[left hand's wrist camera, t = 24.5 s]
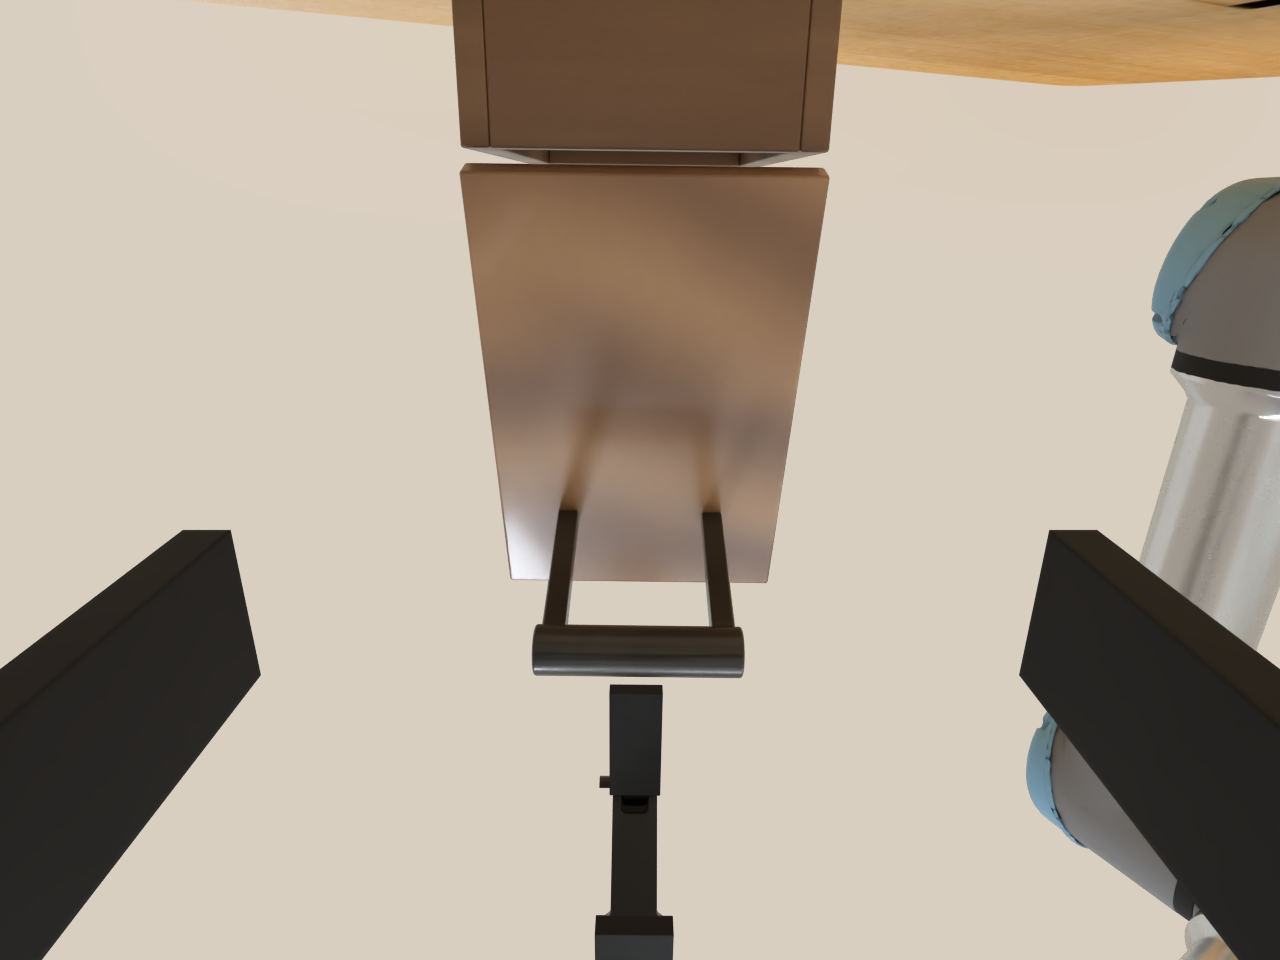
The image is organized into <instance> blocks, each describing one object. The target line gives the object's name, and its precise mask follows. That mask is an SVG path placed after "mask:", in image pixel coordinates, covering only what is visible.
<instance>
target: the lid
mask: <svg viewBox="0 0 1280 960" xmlns="http://www.w3.org/2000/svg"><path fill="white" fill-rule="evenodd" d="M460 181H461V189H462V196H463V205H464V212H465V220H466V228H467V236H468V244H469V252H470V260H471V268H472V276H473V284H474V292H475V300H476V308H477V316H478V324H479V331H480V339H481V348H482V355H483V363H484V371H485V379H486V387H487V395H488V403H489V411H490V419H491V427H492V435H493V443H494V450H495V459H496V466H497V474H498V482H499V490H500V498H501V506H502V514H503V522H504V530H505V538H506V546H507V554H508V562H509V570H510V577H511V579H512V580H549V581H548V588H547V595H546V602H545V609H544V616H543V623H542V624H538V625H536V626H535V629H534V634H533V642H532V669H533V673H534V675H538V676H614V677H693V678H694V677H695V678H741V677H742V675H743V672H744V659H745V652H744V637H743V631H742V629H741V627H735V624H734V615H733V607H732V598H731V590H730V583H767V581H768V575H769V568H770V562H771V555H772V549H773V542H774V536H775V529H776V523H777V516H778V510H779V503H780V497H781V490H782V484H783V477H784V471H785V464H786V457H787V451H788V445H789V438H790V432H791V425H792V418H793V412H794V406H795V399H796V392H797V386H798V380H799V373H800V367H801V360H802V354H803V347H804V340H805V334H806V328H807V321H808V315H809V308H810V302H811V295H812V289H813V282H814V275H815V269H816V262H817V256H818V249H819V243H820V236H821V230H822V223H823V217H824V210H825V204H826V197H827V191H828V184H829V176H828V174H827V173H826V171H825V169H823V168H793V167H717V166H641V165H565V164H489V163H466V164H465V165H464V167H463V168H462V169H461V171H460ZM572 581H649V582H706V591H707V603H708V615H709V626H636V625H568V617H569V608H570V598H571V589H572Z"/></svg>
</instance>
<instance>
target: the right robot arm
mask: <svg viewBox="0 0 1280 960" xmlns="http://www.w3.org/2000/svg"><path fill="white" fill-rule="evenodd" d="M1152 311H1153V312H1155V314H1154V316H1153V318H1152V322H1153V326H1154V329H1155V331H1156V332H1157V334H1158V335H1159V336H1160V337H1162V338H1163V339H1165V340H1166V341H1167V342H1169V343H1170V344H1173V345H1177V348H1176V352H1175V356H1174V359H1173V363H1172V366H1171V370H1170V372H1171V373H1172V375H1173V376H1174V377H1175V379H1176V380H1177V381H1178V383H1179V384H1180V385H1181V387H1182V388H1183V389H1184V391H1185V393H1186V396H1187V402H1186V405H1185V409H1184V412H1183V415H1182V419H1181V422H1180V425H1179V429H1178V432H1177V436H1176V439H1175V442H1174V446H1173V449H1172V452H1171V456H1170V459H1169V462H1168V466H1167V469H1166V473H1165V476H1164V479H1163V482H1162V486H1161V489H1160V493H1159V496H1158V499H1157V503H1156V506H1155V509H1154V513H1153V516H1152V519H1151V523H1150V526H1149V529H1148V533H1147V536H1146V540H1145V543H1144V546H1143V550H1142V553H1141V556H1140V560H1139V562H1140V563H1141V564H1142V565H1144V566H1145V567H1146V568H1148V569H1149V570H1150V571H1152V572H1153V573H1154V574H1155V575H1157V576H1158V577H1159V578H1161V579H1162V580H1163V581H1165V582H1166V583H1167V584H1169V585H1170V586H1171V587H1173V588H1174V589H1175V590H1177V591H1178V592H1179V593H1180V594H1182V595H1183V596H1184V597H1186V598H1187V599H1188V600H1190V601H1191V602H1192V603H1194V604H1195V605H1196V606H1198V607H1199V608H1200V609H1201V610H1203V611H1204V612H1205V613H1207V614H1208V615H1209V616H1211V617H1212V618H1213V619H1215V620H1216V621H1217V622H1219V623H1220V624H1221V625H1222V626H1224V627H1225V628H1226V629H1228V630H1229V631H1230V632H1232V633H1233V634H1234V635H1236V636H1237V637H1238V638H1240V639H1241V640H1242V641H1243V642H1245V643H1246V644H1247V645H1249V646H1250V647H1251V648H1253V649H1254V650H1255V651H1256V650H1257V647H1258V644H1259V641H1260V639H1261V636H1262V633H1263V631H1264V628H1265V625H1266V622H1267V620H1268V617H1269V614H1270V612H1271V609H1272V606H1273V603H1274V601H1275V598H1276V595H1277V592H1278V590H1279V587H1280V177H1270V178H1254V179H1248V180H1244V181H1240V182H1238V183H1235V184H1233V185H1231V186H1228V187H1227V188H1225V189H1223V190H1221V191H1220V192H1218V193H1217V194H1215V195H1214V196H1213V197H1212V198H1211V199H1209V200H1208V201H1207V202H1206V203H1205V204H1204V205H1203V207H1202V208H1201V209H1200V210H1199V211H1197V212H1196V213H1195V214H1194V215H1193V216H1192V217H1191V218H1190V220H1189V221H1188V222H1187V223H1186V225H1185V226H1184V228H1183V229H1182V230H1181V232H1180V233H1179V235H1178V237H1177V238H1176V240H1175V241H1174V243H1173V245H1172V247H1171V248H1170V250H1169V252H1168V254H1167V256H1166V258H1165V260H1164V263H1163V265H1162V268H1161V270H1160V272H1159V275H1158V278H1157V282H1156V285H1155V289H1154V293H1153V299H1152ZM609 696H610V776H600V788H610V795H613V821H612V874H611V910H610V912H608V913H607V914H606V915H596V924H595V960H673V937H674V934H673V916H662V915H661V914H660V913H658V912H657V796H659V795H660V776H661V739H662V700H663V690H662V685H610V695H609ZM1026 779H1027V787H1028V791H1029V794H1030V797H1031V799H1032V801H1033V803H1034V804H1035V806H1036V807H1037V809H1038V810H1039V811H1040V812H1041V813H1042V814H1043V815H1044V816H1045V817H1046V818H1047V819H1049V820H1050V821H1051V822H1052V823H1054V824H1055V825H1056V826H1058V827H1059V828H1060V829H1061V830H1062V831H1063V832H1064V833H1065V835H1066V836H1067V837H1068V838H1070V839H1071V840H1072V841H1073V842H1075V843H1076V844H1078V845H1080V846H1082V847H1084V848H1089V849H1090V850H1091V851H1093V852H1094V853H1096V854H1097V855H1098V856H1100V857H1101V858H1102V859H1104V860H1105V861H1107V862H1108V863H1109V864H1111V865H1112V866H1113V867H1115V868H1116V869H1118V870H1119V871H1120V872H1122V873H1123V874H1124V875H1126V876H1127V877H1129V878H1130V879H1131V880H1133V881H1134V882H1135V883H1137V884H1138V885H1140V886H1141V887H1142V888H1144V889H1145V890H1146V891H1148V892H1149V893H1151V894H1152V895H1153V896H1155V897H1156V898H1157V899H1159V900H1160V901H1162V902H1163V903H1164V904H1166V905H1167V906H1168V907H1170V908H1171V909H1173V910H1174V911H1175V912H1177V913H1178V914H1180V915H1181V916H1183V917H1184V918H1185V919H1187V920H1188V921H1189V922H1188V924H1187V926H1186V929H1185V943H1186V947H1187V950H1188V951H1187V952H1186V953H1185V954H1184V955H1183V956H1182V957H1181V958H1180V959H1179V960H1238V959H1237V958H1236V956H1235V955H1234V954H1233V952H1232V951H1231V950H1230V949H1229V947H1228V946H1227V945H1226V943H1225V942H1224V941H1223V939H1222V938H1221V937H1220V936H1219V934H1218V933H1217V932H1216V930H1215V929H1214V928H1213V926H1212V925H1211V924H1210V923H1209V921H1208V920H1207V919H1206V917H1205V916H1204V915H1203V913H1202V912H1201V911H1200V910H1199V908H1198V907H1197V906H1196V904H1195V903H1194V902H1193V900H1192V899H1191V898H1190V897H1189V895H1188V894H1187V893H1186V891H1185V890H1184V889H1183V887H1182V886H1181V885H1180V884H1179V882H1178V881H1177V880H1176V878H1175V877H1174V876H1173V874H1172V873H1171V872H1170V871H1169V869H1168V868H1167V867H1166V865H1165V864H1164V863H1163V861H1162V860H1161V859H1160V858H1159V856H1158V855H1157V854H1156V852H1155V851H1154V850H1153V848H1152V847H1151V846H1150V845H1149V843H1148V842H1147V841H1146V839H1145V838H1144V837H1143V835H1142V834H1141V833H1140V832H1139V830H1138V829H1137V828H1136V826H1135V825H1134V824H1133V822H1132V821H1131V820H1130V819H1129V817H1128V816H1127V815H1126V813H1125V812H1124V811H1123V809H1122V808H1121V807H1120V806H1119V804H1118V803H1117V802H1116V800H1115V799H1114V798H1113V796H1112V795H1111V794H1110V793H1109V791H1108V790H1107V789H1106V787H1105V786H1104V785H1103V783H1102V782H1101V781H1100V780H1099V778H1098V777H1097V776H1096V774H1095V773H1094V772H1093V770H1092V769H1091V768H1090V767H1089V765H1088V764H1087V763H1086V761H1085V760H1084V759H1083V757H1082V756H1081V755H1080V754H1079V752H1078V751H1077V750H1076V748H1075V747H1074V746H1073V744H1072V743H1071V742H1070V741H1069V739H1068V738H1067V737H1066V735H1065V734H1064V733H1063V731H1062V730H1061V729H1060V728H1059V726H1058V725H1057V724H1056V722H1055V721H1054V720H1053V718H1052V717H1051V716H1050V715H1049V713H1048V712H1046V714H1045V715H1044V717H1043V725H1042V727H1041V728H1037V729H1036V732H1035V734H1034V736H1033V739H1032V742H1031V745H1030V749H1029V753H1028V758H1027V766H1026Z"/></svg>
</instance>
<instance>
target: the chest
mask: <svg viewBox="0 0 1280 960" xmlns="http://www.w3.org/2000/svg"><path fill="white" fill-rule="evenodd" d="M841 9H842V0H452V12H453V28H454V44H455V59H456V76H457V92H458V108H459V123H460V139H461V146H462V147H463V148H467V149H471V150H475V151H479V152H483V153H488V154H492V155H496V156H500V157H504V158H508V159H512V160H516V161H521V162H524V163H529V164H565V165H641V166H717V167H760V166H765V165H770V164H774V163H779V162H784V161H788V160H793V159H798V158H802V157H807V156H812V155H816V154H821V153H825V152H828V150H829V142H830V131H831V120H832V109H833V98H834V87H835V76H836V65H837V53H838V42H839V31H840V20H841Z"/></svg>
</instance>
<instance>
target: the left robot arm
mask: <svg viewBox="0 0 1280 960" xmlns="http://www.w3.org/2000/svg"><path fill="white" fill-rule="evenodd" d="M260 675H261V674H260V669H259V664H258V659H257V654H256V650H255V645H254V640H253V635H252V631H251V626H250V621H249V616H248V611H247V606H246V602H245V597H244V592H243V587H242V582H241V578H240V573H239V568H238V563H237V558H236V554H235V549H234V544H233V539H232V534H231V530H182V531H181V532H180V533H178V534H177V535H176V536H174V537H173V538H172V539H170V540H169V541H168V542H167V543H165V544H164V545H163V546H161V547H160V548H159V549H157V550H156V551H155V552H153V553H152V554H151V555H149V556H148V557H147V558H146V559H144V560H143V561H142V562H140V563H139V564H138V565H136V566H135V567H134V568H132V569H131V570H130V571H128V572H127V573H126V574H125V575H123V576H122V577H121V578H119V579H118V580H117V581H115V582H114V583H113V584H111V585H110V586H109V587H107V588H106V589H105V590H103V591H102V592H101V593H100V594H98V595H97V596H96V597H94V598H93V599H92V600H90V601H89V602H88V603H86V604H85V605H84V606H82V607H81V608H80V609H79V610H77V611H76V612H75V613H73V614H72V615H71V616H69V617H68V618H67V619H65V620H64V621H63V622H61V623H60V624H59V625H58V626H56V627H55V628H54V629H52V630H51V631H50V632H48V633H47V634H46V635H44V636H43V637H42V638H40V639H39V640H38V641H37V642H35V643H34V644H33V645H31V646H30V647H29V648H27V649H26V650H25V651H23V652H22V653H21V654H19V655H18V656H17V657H16V658H14V659H13V660H12V661H10V662H9V663H8V664H6V665H5V666H4V667H2V668H1V669H0V960H42V959H43V958H44V956H45V955H46V954H47V952H48V951H49V950H50V949H51V947H52V946H53V945H54V943H55V942H56V941H57V939H58V938H59V937H60V936H61V934H62V933H63V932H64V930H65V929H66V928H67V926H68V925H69V924H70V923H71V921H72V920H73V919H74V917H75V916H76V915H77V913H78V912H79V911H80V909H81V908H82V907H83V906H84V904H85V903H86V902H87V900H88V899H89V898H90V897H91V895H92V894H93V893H94V891H95V890H96V889H97V887H98V886H99V885H100V884H101V882H102V881H103V880H104V878H105V877H106V876H107V874H108V873H109V872H110V871H111V869H112V868H113V867H114V865H115V864H116V863H117V861H118V860H119V859H120V857H121V856H122V855H123V853H124V852H125V851H126V850H127V848H128V847H129V846H130V845H131V843H132V842H133V841H134V839H135V838H136V837H137V835H138V834H139V833H140V831H141V830H142V829H143V828H144V826H145V825H146V824H147V822H148V821H149V820H150V818H151V817H152V816H153V815H154V813H155V812H156V811H157V809H158V808H159V807H160V806H161V804H162V803H163V802H164V800H165V799H166V798H167V796H168V795H169V794H170V793H171V791H172V790H173V789H174V787H175V786H176V785H177V783H178V782H179V781H180V780H181V778H182V777H183V776H184V774H185V773H186V772H187V770H188V769H189V768H190V766H191V765H192V764H193V763H194V761H195V760H196V759H197V757H198V756H199V755H200V753H201V752H202V751H203V750H204V748H205V747H206V746H207V744H208V743H209V742H210V740H211V739H212V738H213V737H214V735H215V734H216V733H217V731H218V730H219V729H220V727H221V726H222V725H223V724H224V722H225V721H226V720H227V718H228V717H229V716H230V714H231V713H232V712H233V711H234V709H235V708H236V707H237V705H238V704H239V703H240V701H241V700H242V699H243V698H244V696H245V695H246V694H247V692H248V691H249V690H250V688H251V687H252V686H253V685H254V683H255V682H256V681H257V679H258V678H259V677H260ZM1019 675H1020V677H1021V678H1022V679H1023V681H1024V682H1025V683H1026V685H1027V686H1028V687H1029V688H1030V690H1031V691H1032V692H1033V694H1034V695H1035V696H1036V698H1037V699H1038V700H1039V701H1040V703H1041V704H1042V705H1043V707H1044V708H1045V709H1046V711H1047V712H1048V713H1049V715H1050V716H1051V717H1052V718H1053V720H1054V721H1055V722H1056V724H1057V725H1058V726H1059V728H1060V729H1061V730H1062V731H1063V733H1064V734H1065V735H1066V737H1067V738H1068V739H1069V741H1070V742H1071V743H1072V744H1073V746H1074V747H1075V748H1076V750H1077V751H1078V752H1079V754H1080V755H1081V756H1082V757H1083V759H1084V760H1085V761H1086V763H1087V764H1088V765H1089V767H1090V768H1091V769H1092V770H1093V772H1094V773H1095V774H1096V776H1097V777H1098V778H1099V780H1100V781H1101V782H1102V783H1103V785H1104V786H1105V787H1106V789H1107V790H1108V791H1109V793H1110V794H1111V795H1112V796H1113V798H1114V799H1115V800H1116V802H1117V803H1118V804H1119V806H1120V807H1121V808H1122V809H1123V811H1124V812H1125V813H1126V815H1127V816H1128V817H1129V819H1130V820H1131V821H1132V822H1133V824H1134V825H1135V826H1136V828H1137V829H1138V830H1139V832H1140V833H1141V834H1142V835H1143V837H1144V838H1145V839H1146V841H1147V842H1148V843H1149V845H1150V846H1151V847H1152V848H1153V850H1154V851H1155V852H1156V854H1157V855H1158V856H1159V858H1160V859H1161V860H1162V861H1163V863H1164V864H1165V865H1166V867H1167V868H1168V869H1169V871H1170V872H1171V873H1172V874H1173V876H1174V877H1175V878H1176V880H1177V881H1178V882H1179V884H1180V885H1181V886H1182V887H1183V889H1184V890H1185V891H1186V893H1187V894H1188V895H1189V897H1190V898H1191V899H1192V900H1193V902H1194V903H1195V904H1196V906H1197V907H1198V908H1199V910H1200V911H1201V912H1202V913H1203V915H1204V916H1205V917H1206V919H1207V920H1208V921H1209V923H1210V924H1211V925H1212V926H1213V928H1214V929H1215V930H1216V932H1217V933H1218V934H1219V936H1220V937H1221V938H1222V939H1223V941H1224V942H1225V943H1226V945H1227V946H1228V947H1229V949H1230V950H1231V951H1232V952H1233V954H1234V955H1235V956H1236V958H1237V959H1238V960H1280V669H1279V668H1278V667H1276V666H1275V665H1274V664H1272V663H1271V662H1270V661H1268V660H1267V659H1266V658H1264V657H1263V656H1262V655H1261V654H1259V653H1258V652H1257V651H1255V650H1254V649H1253V648H1251V647H1250V646H1249V645H1247V644H1246V643H1245V642H1243V641H1242V640H1241V639H1240V638H1238V637H1237V636H1236V635H1234V634H1233V633H1232V632H1230V631H1229V630H1228V629H1226V628H1225V627H1224V626H1222V625H1221V624H1220V623H1219V622H1217V621H1216V620H1215V619H1213V618H1212V617H1211V616H1209V615H1208V614H1207V613H1205V612H1204V611H1203V610H1201V609H1200V608H1199V607H1198V606H1196V605H1195V604H1194V603H1192V602H1191V601H1190V600H1188V599H1187V598H1186V597H1184V596H1183V595H1182V594H1180V593H1179V592H1178V591H1177V590H1175V589H1174V588H1173V587H1171V586H1170V585H1169V584H1167V583H1166V582H1165V581H1163V580H1162V579H1161V578H1159V577H1158V576H1157V575H1155V574H1154V573H1153V572H1152V571H1150V570H1149V569H1148V568H1146V567H1145V566H1144V565H1142V564H1141V563H1140V562H1138V561H1137V560H1136V559H1134V558H1133V557H1132V556H1131V555H1129V554H1128V553H1127V552H1125V551H1124V550H1123V549H1121V548H1120V547H1119V546H1117V545H1116V544H1115V543H1113V542H1112V541H1111V540H1110V539H1108V538H1107V537H1105V536H1104V535H1103V534H1102V533H1100V532H1099V531H1098V530H1049V535H1048V539H1047V544H1046V549H1045V554H1044V558H1043V563H1042V568H1041V573H1040V578H1039V582H1038V587H1037V592H1036V597H1035V602H1034V607H1033V611H1032V616H1031V621H1030V626H1029V631H1028V635H1027V640H1026V645H1025V650H1024V654H1023V659H1022V664H1021V669H1020V674H1019Z"/></svg>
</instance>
